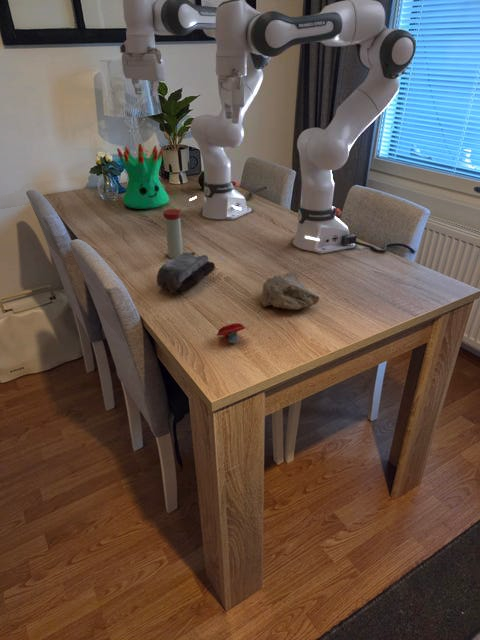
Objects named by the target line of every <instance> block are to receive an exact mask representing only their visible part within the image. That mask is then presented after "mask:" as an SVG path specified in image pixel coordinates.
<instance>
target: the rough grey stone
mask: <svg viewBox="0 0 480 640" xmlns="http://www.w3.org/2000/svg"><path fill="white" fill-rule="evenodd" d="M260 299H261V300H260V303H261V305H262V307H264V308H266V307H269V306H273V308H281V309H288V310H293V311H294V310H296V311H297V310H302V309H303V308H310V307H312V306H314V305H316V304H318V303H319V301H320V296H318V295H316V294H315V293H314V292H312V291H311V290H310V289H308V288H307V287H306V286H305V285H304V284H303V283H302V282H301V281H300V280H299V278H298V277H297V275H296V274H295V273H294V272H289V273H285V274H282V275H281V274H280V275H278V276H277V275H273V277H269V278H268V279H267V280H266V281H265V282H264V283H263V285H262V295H261V298H260Z"/></svg>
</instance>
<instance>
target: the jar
mask: <svg viewBox="0 0 480 640" xmlns="http://www.w3.org/2000/svg"><path fill="white" fill-rule="evenodd" d="M164 219H165V220H164V221H165V233H166V243H167V254H168V258H170V259H173V258H175V257H176V256H179V255H181V254H183V253H184V252H183V239H182V238H183V237H182V224H181V217H180V218H178V219H166V218H164Z"/></svg>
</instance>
